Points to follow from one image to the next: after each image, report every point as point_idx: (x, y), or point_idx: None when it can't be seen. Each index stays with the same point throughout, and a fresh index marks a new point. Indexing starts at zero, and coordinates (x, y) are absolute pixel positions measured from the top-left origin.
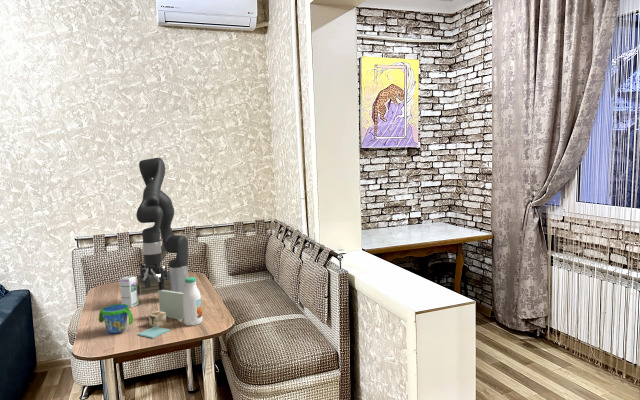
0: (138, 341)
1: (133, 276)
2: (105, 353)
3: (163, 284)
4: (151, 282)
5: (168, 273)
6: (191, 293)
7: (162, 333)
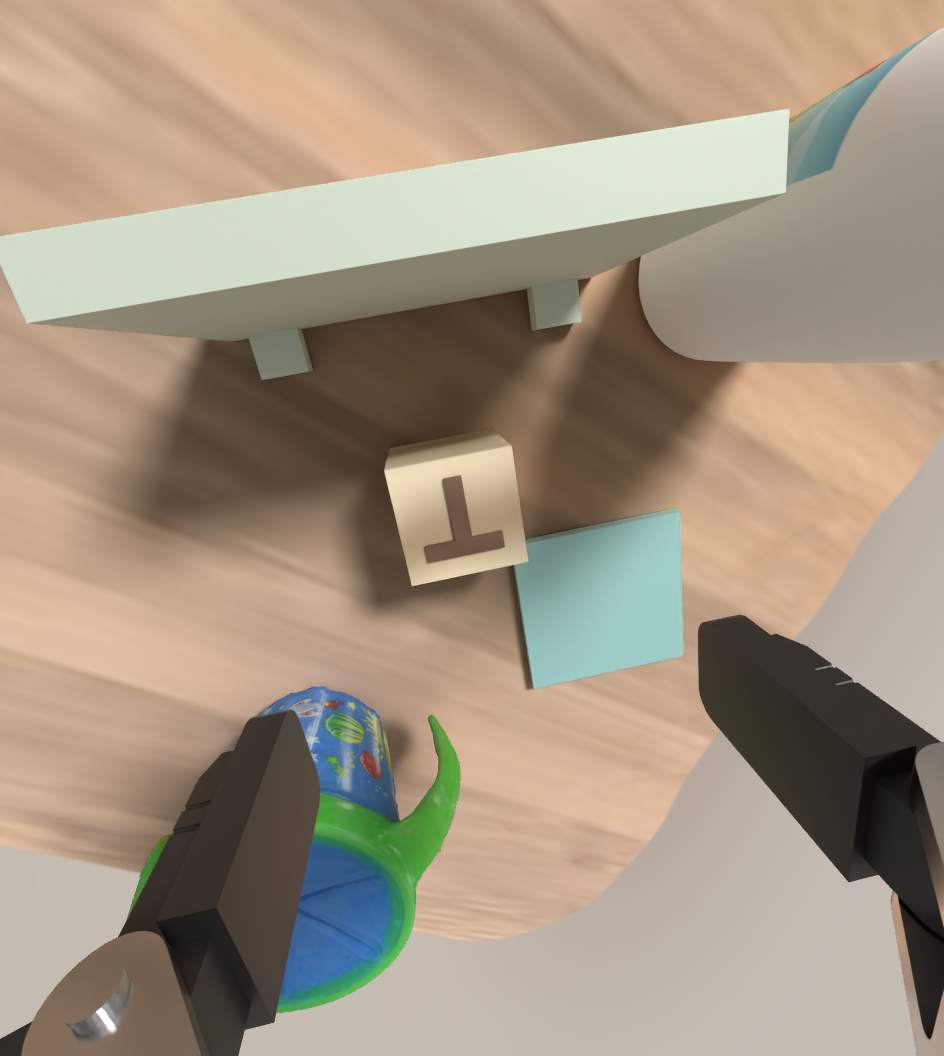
0: (635, 719)
1: None
2: (619, 870)
3: (870, 708)
4: None
5: None
6: None
7: (678, 577)
